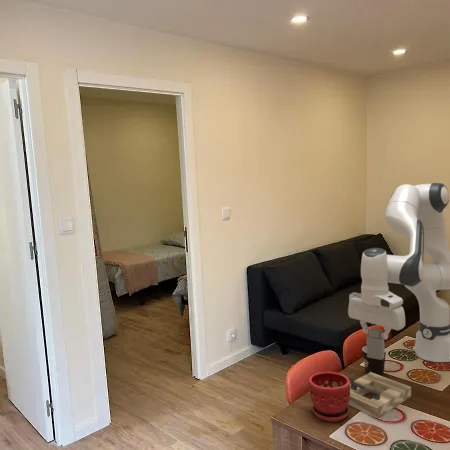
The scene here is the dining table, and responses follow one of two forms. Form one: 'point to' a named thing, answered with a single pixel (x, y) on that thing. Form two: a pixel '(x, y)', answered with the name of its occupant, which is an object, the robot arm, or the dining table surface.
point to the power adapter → (375, 344)
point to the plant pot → (330, 396)
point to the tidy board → (377, 394)
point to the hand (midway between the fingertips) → (375, 335)
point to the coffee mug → (373, 363)
